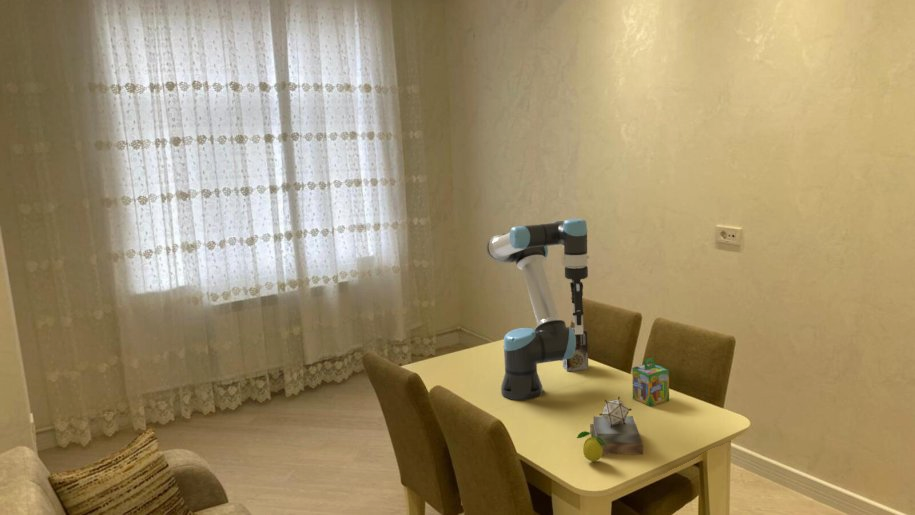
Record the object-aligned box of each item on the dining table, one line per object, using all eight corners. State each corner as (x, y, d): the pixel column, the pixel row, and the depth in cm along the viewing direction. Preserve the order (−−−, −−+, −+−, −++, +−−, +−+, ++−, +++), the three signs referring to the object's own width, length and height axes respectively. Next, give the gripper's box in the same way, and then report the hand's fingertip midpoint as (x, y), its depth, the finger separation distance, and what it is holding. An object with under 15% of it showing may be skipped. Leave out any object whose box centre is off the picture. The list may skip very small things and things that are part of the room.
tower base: (594, 454, 197) (594, 435, 196) (590, 433, 210) (589, 415, 209) (643, 454, 195) (642, 434, 194) (635, 432, 209) (635, 414, 208)
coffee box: (583, 364, 272) (582, 325, 269) (588, 369, 266) (587, 330, 263) (561, 366, 271) (560, 328, 268) (566, 371, 264) (565, 332, 262)
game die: (621, 437, 201) (633, 420, 194) (594, 428, 202) (605, 410, 195) (624, 413, 208) (636, 395, 201) (598, 404, 208) (608, 386, 201)
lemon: (577, 459, 194) (576, 427, 192) (593, 454, 196) (593, 423, 195) (591, 469, 188) (590, 436, 186) (607, 464, 190) (607, 431, 189)
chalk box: (650, 407, 227) (650, 365, 224) (631, 398, 235) (631, 358, 232) (670, 401, 231) (670, 360, 228) (651, 392, 239) (651, 353, 237)
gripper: (590, 273, 208) (592, 339, 211) (584, 258, 232) (586, 317, 236) (566, 274, 208) (568, 339, 212) (562, 259, 233) (564, 317, 237)
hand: (577, 328), depth 224 cm, fingers open, 13 cm apart
